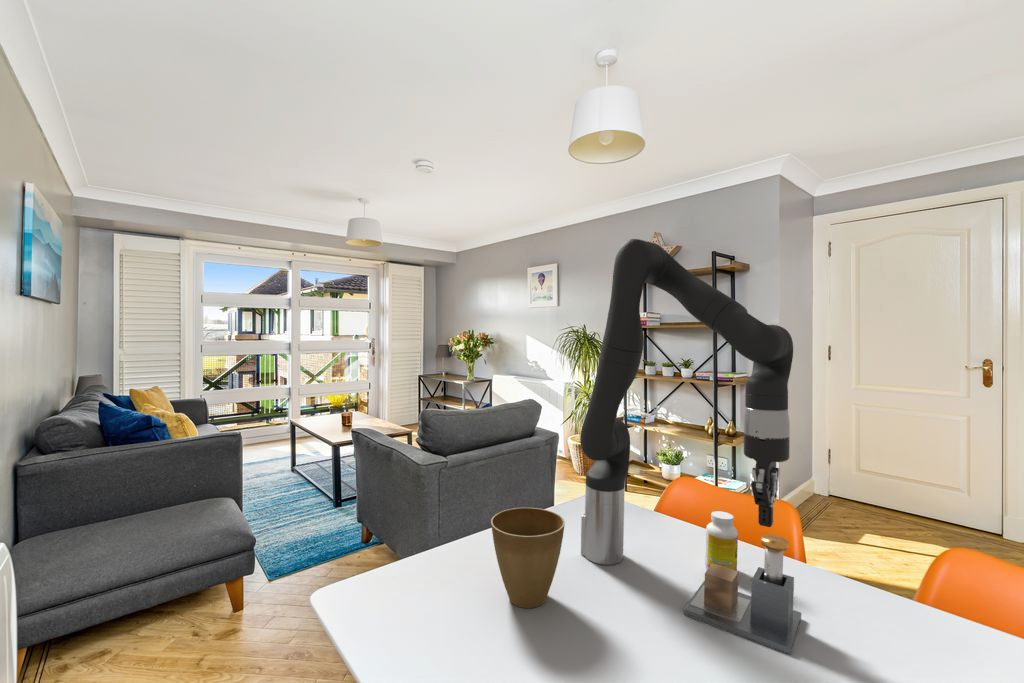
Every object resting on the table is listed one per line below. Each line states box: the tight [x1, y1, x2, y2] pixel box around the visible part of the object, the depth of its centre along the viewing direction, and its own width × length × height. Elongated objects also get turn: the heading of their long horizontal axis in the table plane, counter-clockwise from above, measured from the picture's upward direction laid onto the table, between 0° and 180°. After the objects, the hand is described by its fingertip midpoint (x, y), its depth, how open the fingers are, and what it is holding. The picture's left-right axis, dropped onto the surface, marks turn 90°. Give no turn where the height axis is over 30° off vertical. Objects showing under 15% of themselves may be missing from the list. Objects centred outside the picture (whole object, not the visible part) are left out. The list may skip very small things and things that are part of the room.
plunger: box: [760, 534, 789, 586], centre depth 89 cm, size 4×4×11 cm
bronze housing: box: [704, 564, 739, 613], centre depth 95 cm, size 5×5×6 cm
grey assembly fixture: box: [683, 566, 802, 656], centre depth 92 cm, size 18×13×9 cm
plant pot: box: [490, 507, 566, 609], centre depth 97 cm, size 15×15×16 cm
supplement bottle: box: [704, 510, 739, 571], centre depth 110 cm, size 7×7×13 cm
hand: (765, 525), depth 89 cm, fingers closed
